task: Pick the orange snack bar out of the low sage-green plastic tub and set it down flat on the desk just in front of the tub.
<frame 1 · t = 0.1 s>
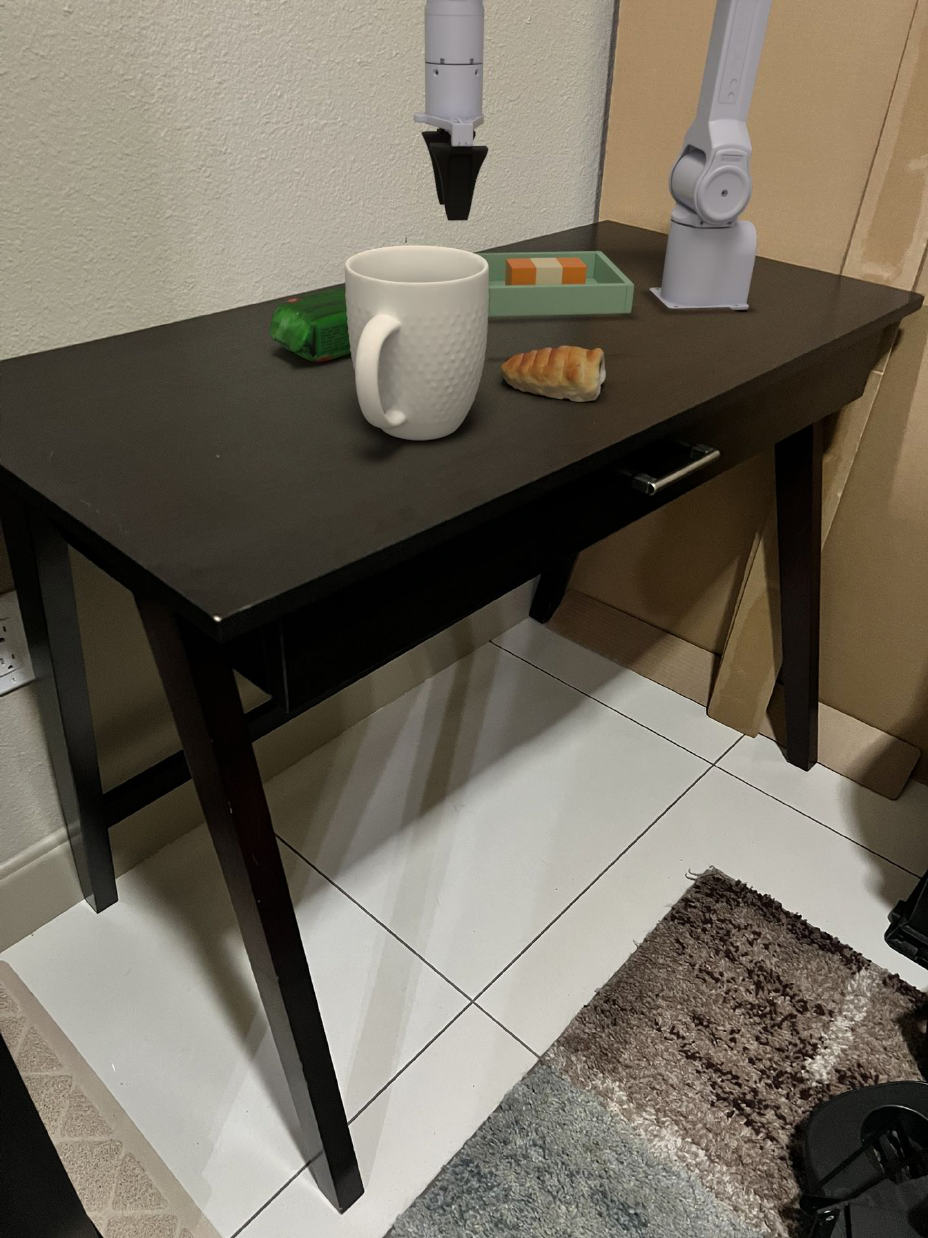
hand: (453, 211, 98), 10 cm above the table, tool pointing down, fingers open, 7 cm apart
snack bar: (543, 294, 106), point 1 cm above the table, touching tub
pastry: (559, 390, 84), on the table
snack package: (346, 348, 93), on the table
tub: (543, 300, 107), on the table
mug: (413, 431, 76), on the table
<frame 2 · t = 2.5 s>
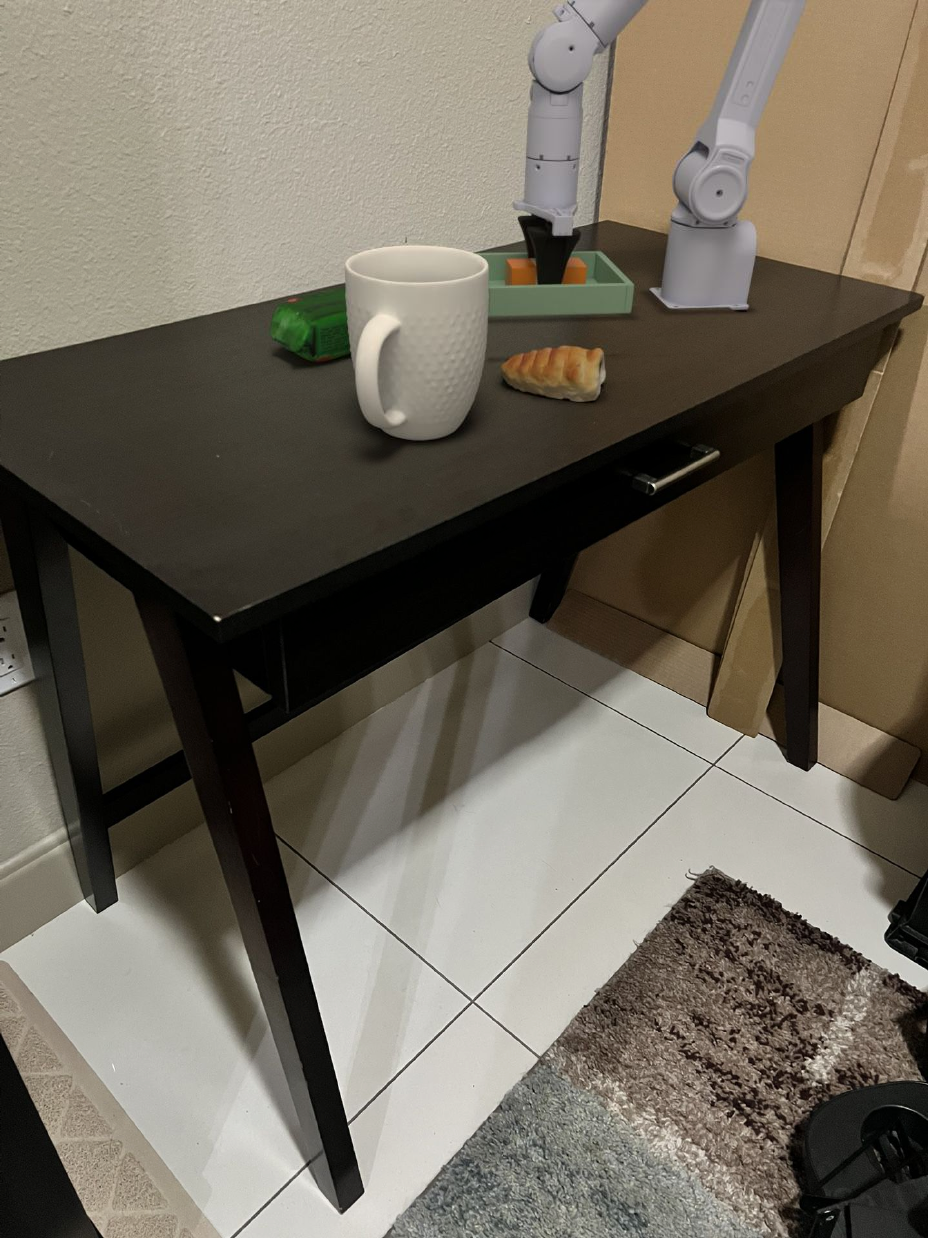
hand: (544, 287, 106), 1 cm above the table, tool pointing down, fingers closed on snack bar, 4 cm apart
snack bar: (544, 294, 106), point 1 cm above the table, touching gripper, tub
everything else where it was.
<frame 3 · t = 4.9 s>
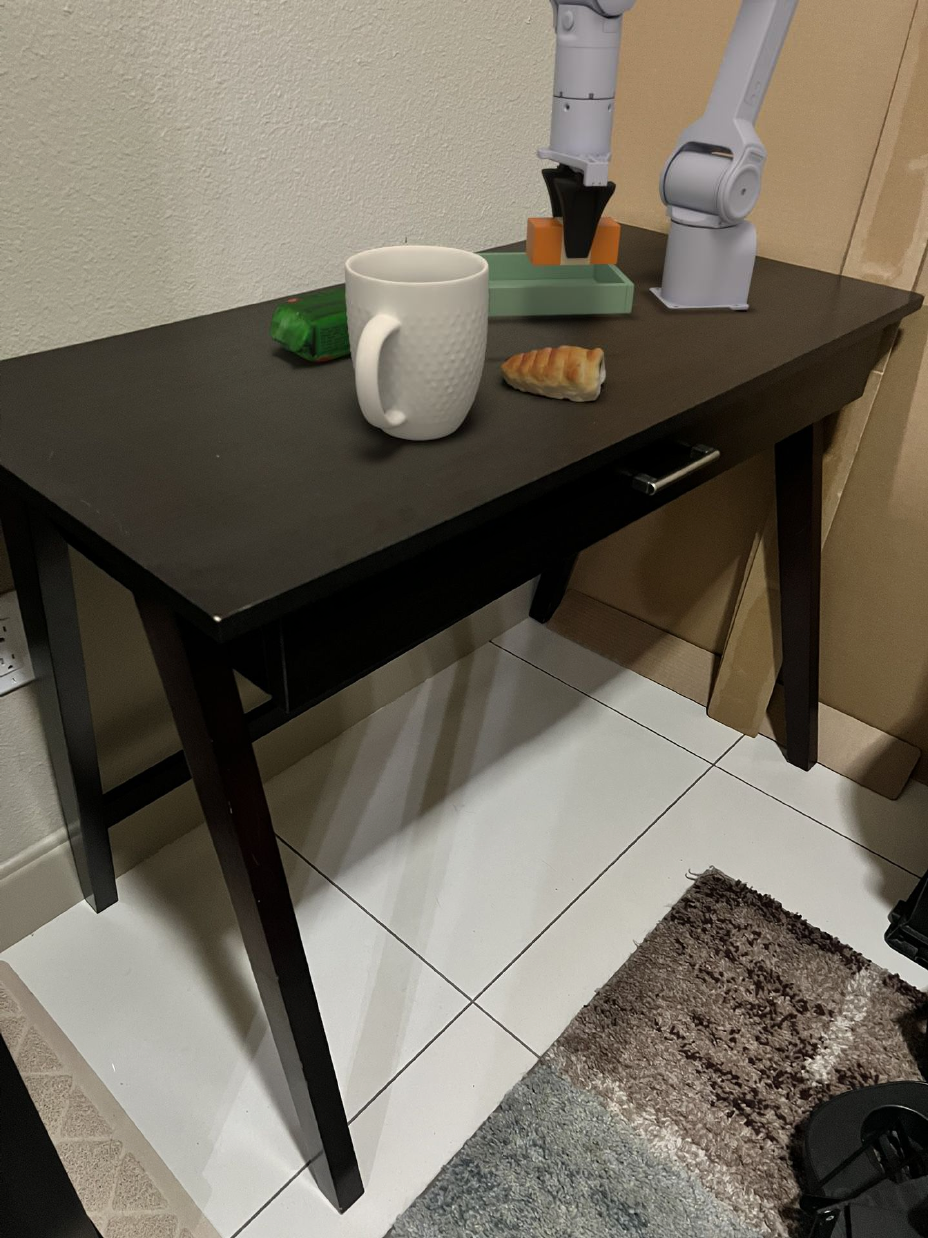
hand: (571, 251, 92), 8 cm above the table, tool pointing down, fingers closed on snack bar, 4 cm apart
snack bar: (570, 259, 93), point 7 cm above the table, touching gripper
everything else where it was.
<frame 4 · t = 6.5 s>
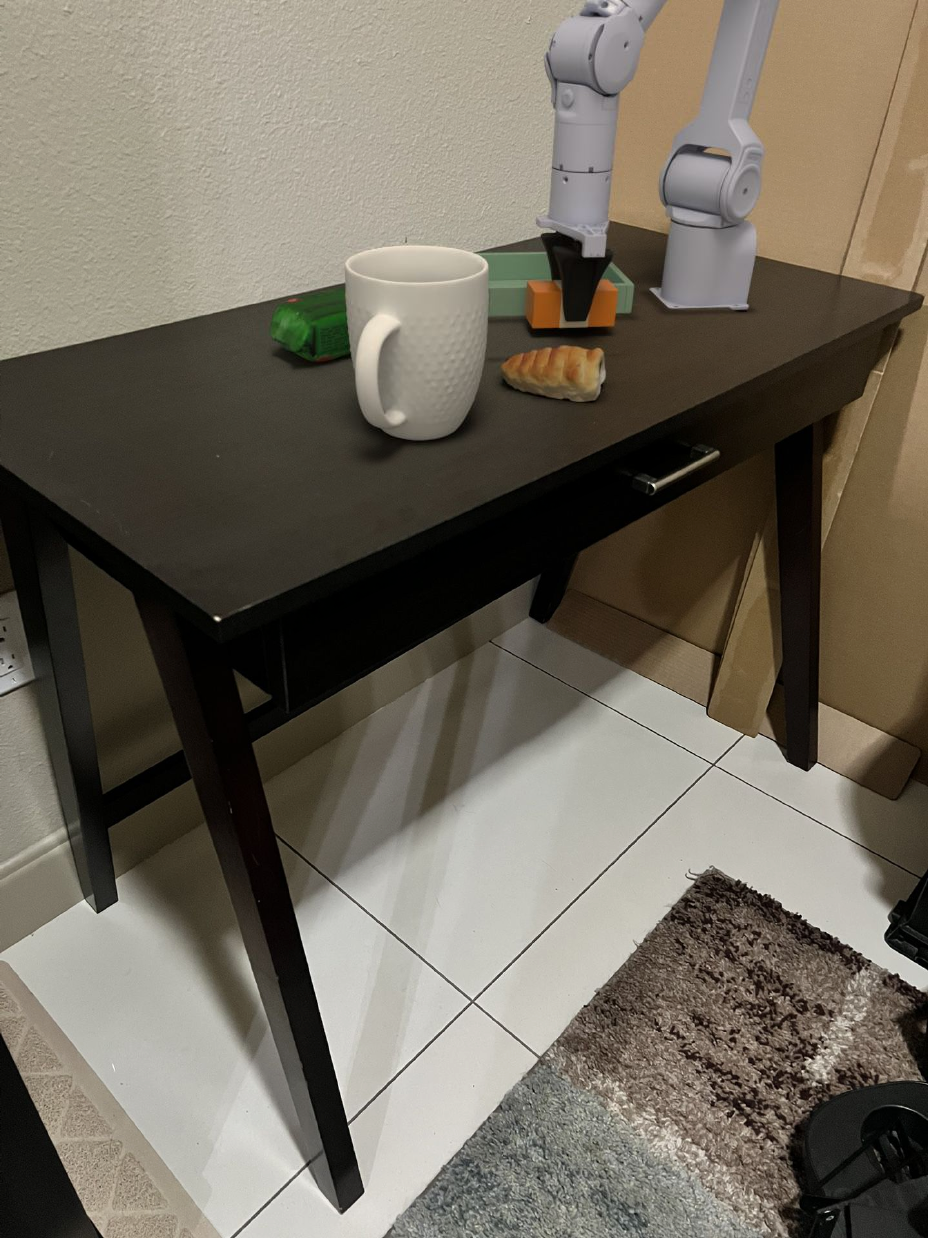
hand: (570, 313, 95), 2 cm above the table, tool pointing down, fingers closed on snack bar, 4 cm apart
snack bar: (569, 321, 95), point 2 cm above the table, touching gripper
everything else where it was.
when the fingers open (1 cm above the table, at t = 7.5 s): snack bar stays where it is, on the table.
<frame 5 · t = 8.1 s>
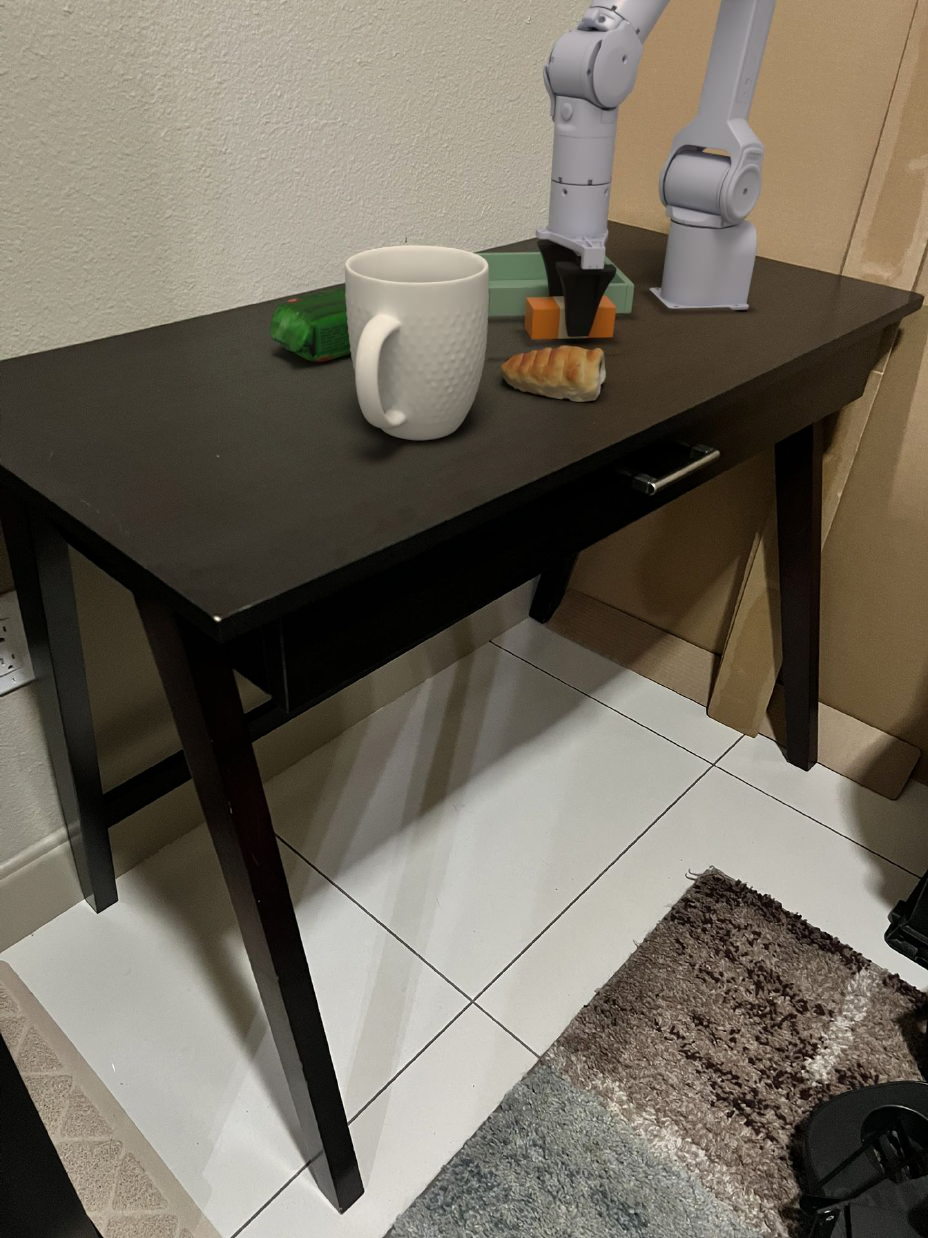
hand: (569, 323, 95), 1 cm above the table, tool pointing down, fingers open, 7 cm apart
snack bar: (567, 336, 96), on the table
everything else where it was.
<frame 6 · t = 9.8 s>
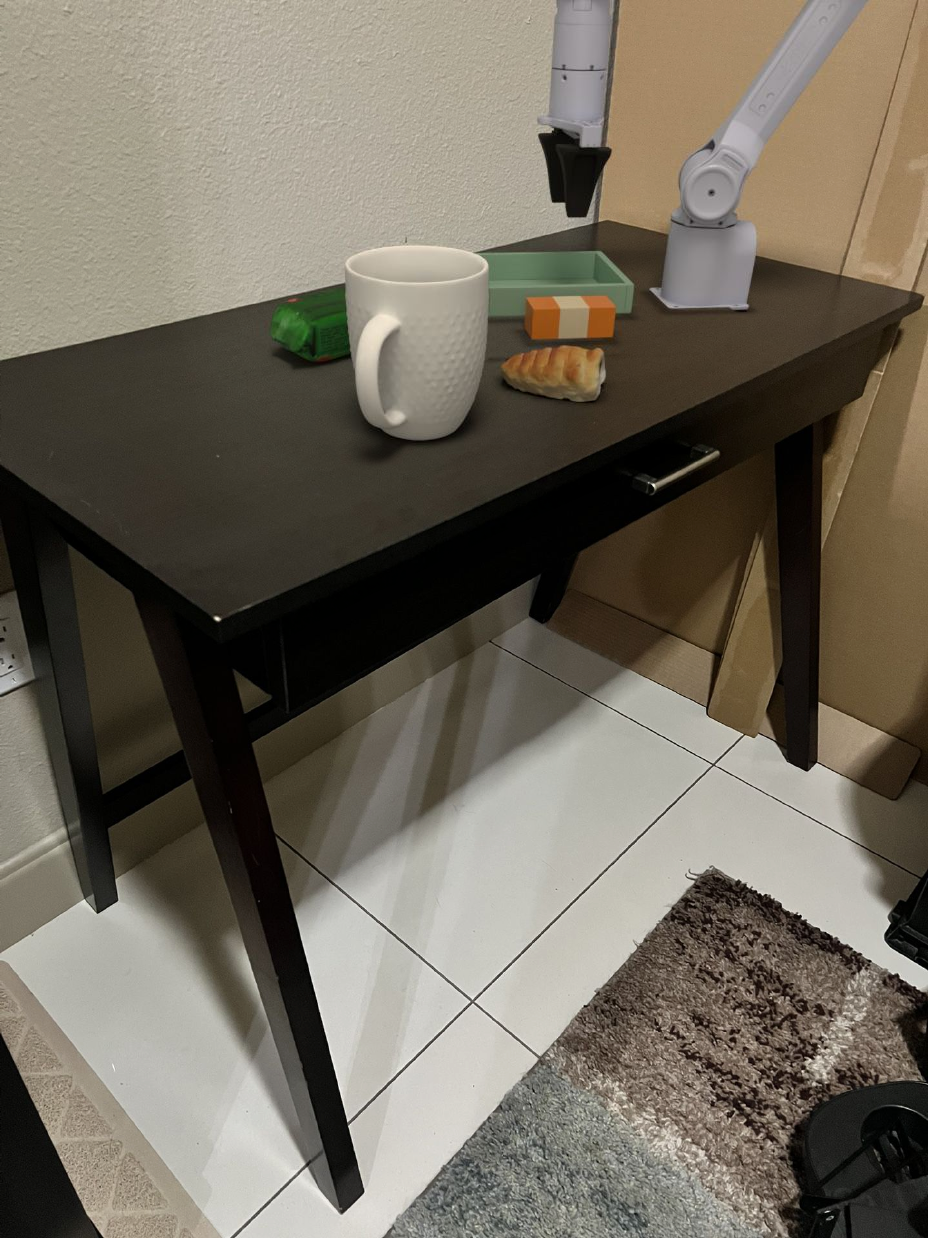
hand: (568, 209, 103), 9 cm above the table, tool pointing down, fingers open, 7 cm apart
nothing on the table moved.
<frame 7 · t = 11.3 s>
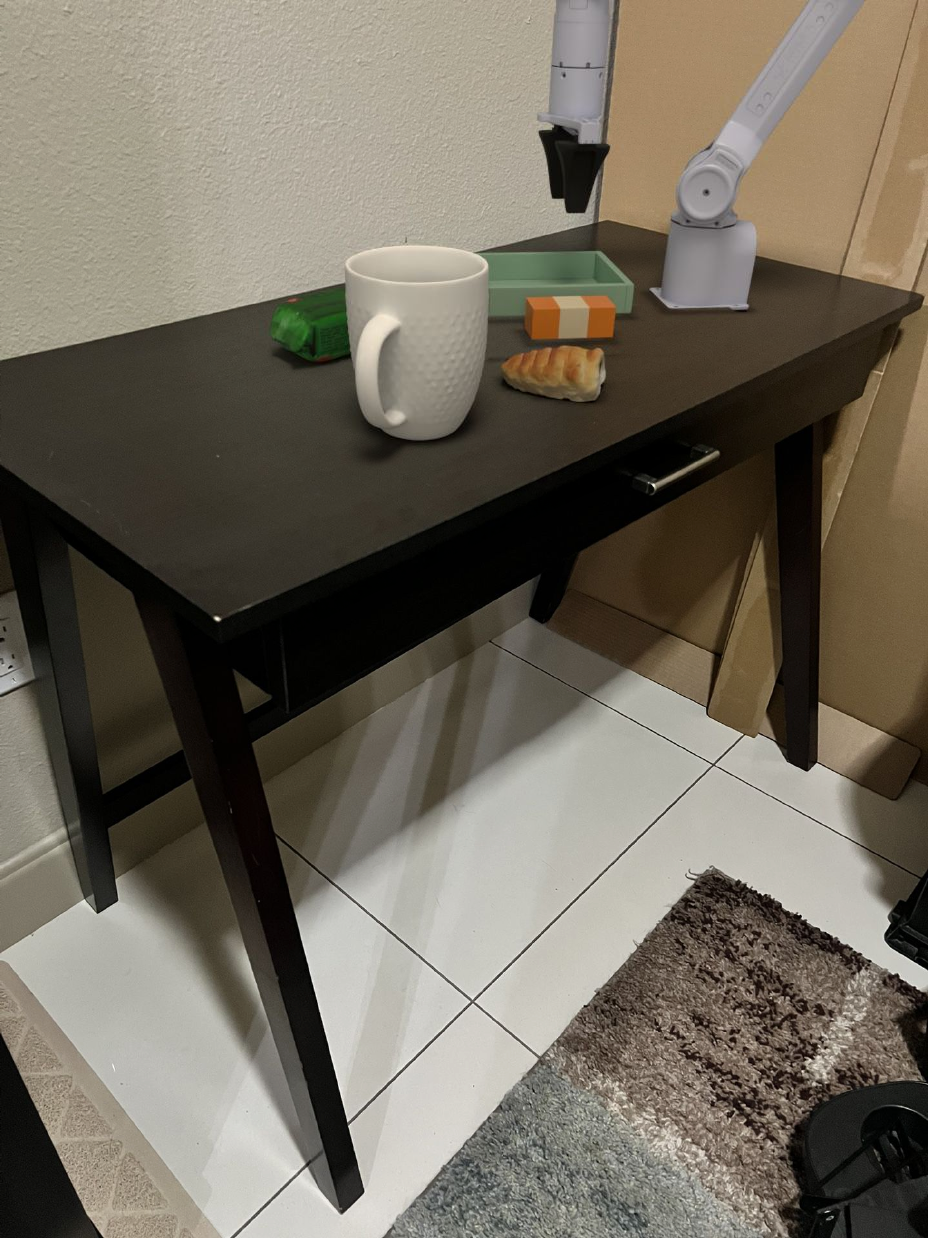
hand: (567, 205, 105), 9 cm above the table, tool pointing down, fingers open, 7 cm apart
nothing on the table moved.
at the end: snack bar inside the target area (0.8 cm from its centre), on the table; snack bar tilted 0°; the gripper is holding nothing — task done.
